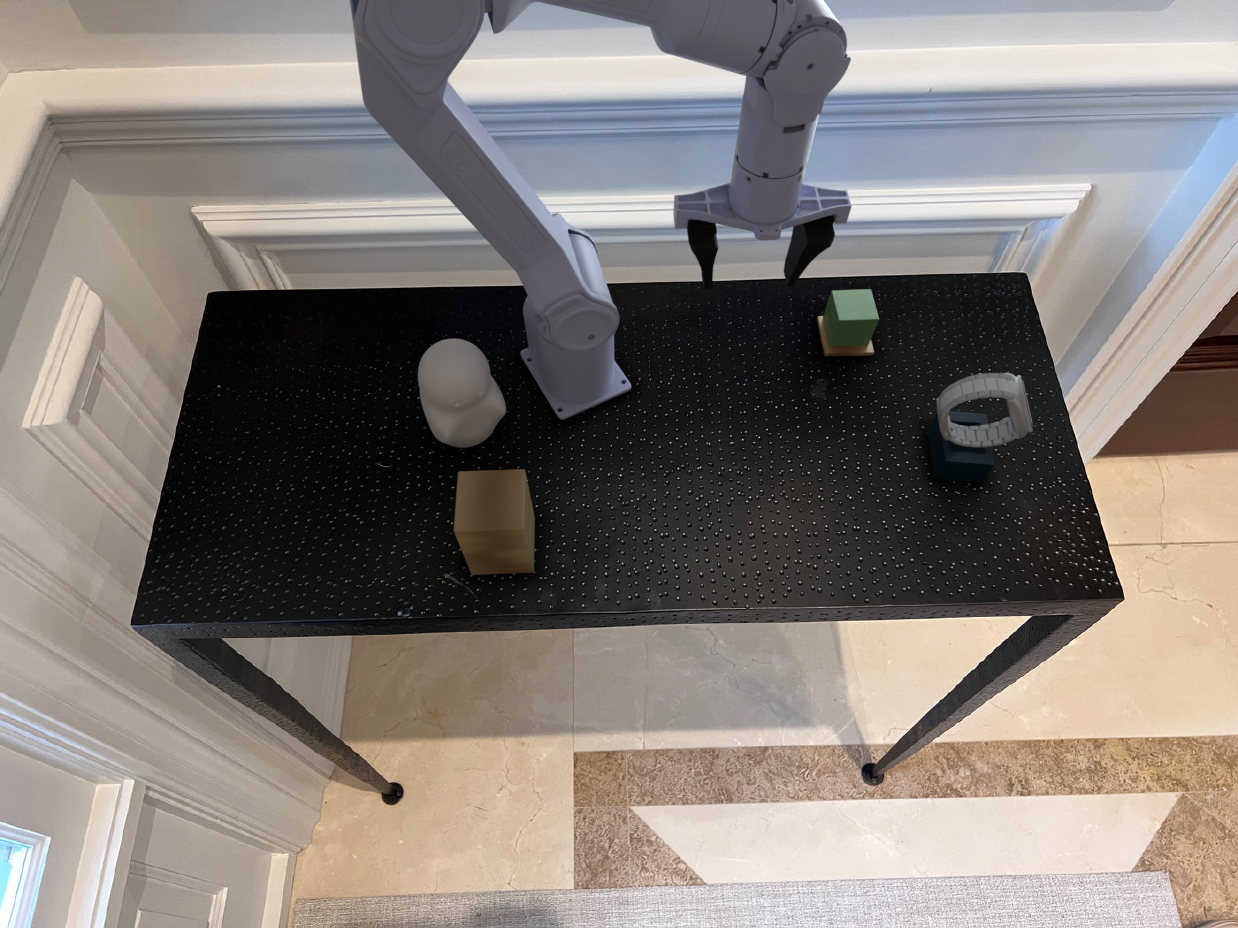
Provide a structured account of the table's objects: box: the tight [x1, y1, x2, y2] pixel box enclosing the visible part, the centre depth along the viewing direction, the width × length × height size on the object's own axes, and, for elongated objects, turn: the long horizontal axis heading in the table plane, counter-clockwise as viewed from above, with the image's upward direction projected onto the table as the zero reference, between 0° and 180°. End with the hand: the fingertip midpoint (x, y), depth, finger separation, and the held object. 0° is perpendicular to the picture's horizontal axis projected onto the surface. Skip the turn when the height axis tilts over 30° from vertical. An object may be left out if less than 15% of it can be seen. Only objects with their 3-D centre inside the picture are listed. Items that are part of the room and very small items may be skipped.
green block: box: [822, 288, 880, 347], centre depth 80 cm, size 4×4×4 cm
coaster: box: [816, 315, 875, 357], centre depth 81 cm, size 5×5×1 cm
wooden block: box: [453, 468, 536, 576], centre depth 66 cm, size 5×5×8 cm
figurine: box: [417, 338, 507, 449], centre depth 71 cm, size 7×8×12 cm
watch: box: [927, 372, 1034, 483], centre depth 69 cm, size 6×8×11 cm
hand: (747, 280), depth 73 cm, fingers open, 7 cm apart
